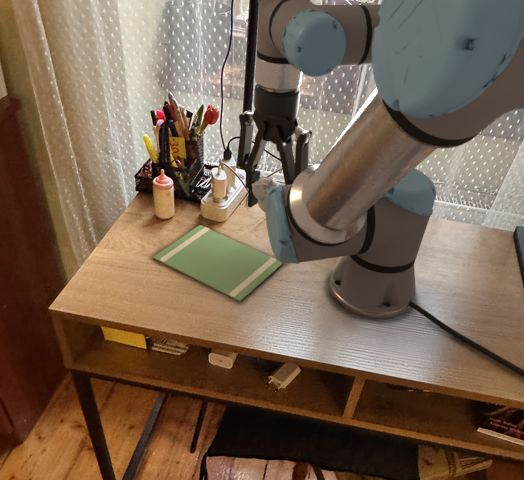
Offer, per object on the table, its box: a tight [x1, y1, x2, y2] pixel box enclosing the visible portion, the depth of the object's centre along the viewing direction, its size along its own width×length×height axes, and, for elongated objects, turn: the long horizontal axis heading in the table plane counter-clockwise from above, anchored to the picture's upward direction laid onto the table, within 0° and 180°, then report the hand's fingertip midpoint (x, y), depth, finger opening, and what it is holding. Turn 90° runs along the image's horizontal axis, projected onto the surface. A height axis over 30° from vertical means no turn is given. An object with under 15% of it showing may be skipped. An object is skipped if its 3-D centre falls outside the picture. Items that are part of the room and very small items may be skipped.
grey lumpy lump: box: [252, 175, 282, 213], centre depth 102 cm, size 6×7×7 cm
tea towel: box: [152, 224, 284, 303], centre depth 101 cm, size 20×14×1 cm
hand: (268, 210), depth 104 cm, fingers closed on grey lumpy lump, 6 cm apart
